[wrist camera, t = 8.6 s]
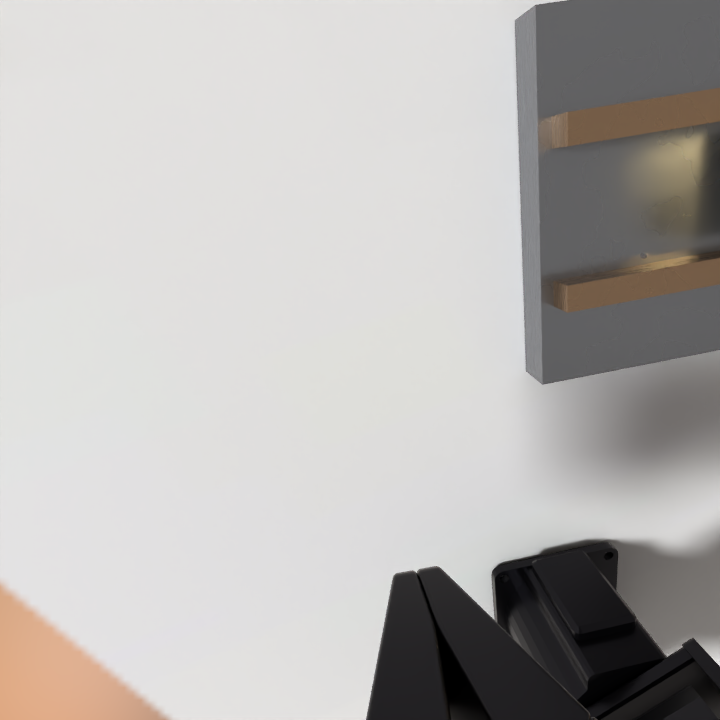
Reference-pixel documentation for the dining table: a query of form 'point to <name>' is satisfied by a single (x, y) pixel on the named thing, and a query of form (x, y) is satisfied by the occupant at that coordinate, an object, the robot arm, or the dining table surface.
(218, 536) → the dining table surface
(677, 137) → the bolt plate
